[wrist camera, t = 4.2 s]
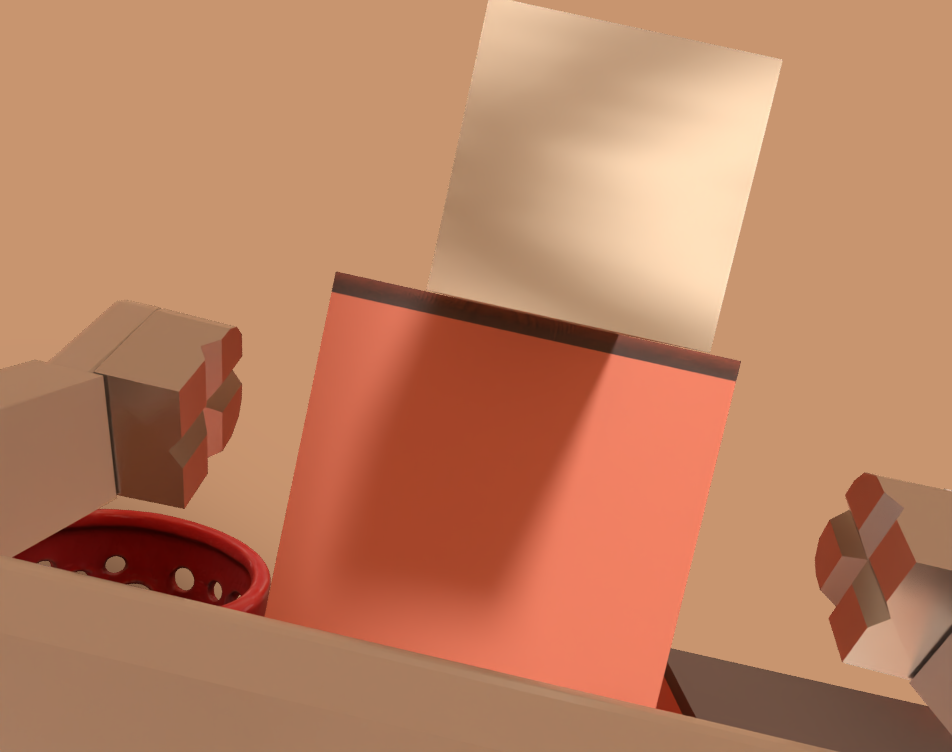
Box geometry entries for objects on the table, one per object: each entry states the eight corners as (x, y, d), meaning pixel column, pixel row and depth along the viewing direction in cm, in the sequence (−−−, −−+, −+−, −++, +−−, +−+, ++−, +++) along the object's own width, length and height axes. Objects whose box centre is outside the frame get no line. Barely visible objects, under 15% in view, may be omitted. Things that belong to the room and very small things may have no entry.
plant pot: (-155, 794, 33) (-109, 526, 32) (113, 694, 45) (151, 495, 44) (28, 968, 27) (90, 645, 26) (281, 800, 39) (330, 573, 38)
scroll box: (421, 292, 11) (486, -9, 10) (468, 303, 28) (493, 189, 27) (712, 357, 11) (787, 56, 10) (580, 328, 28) (607, 214, 27)
